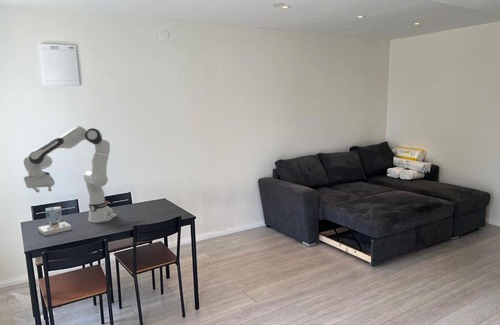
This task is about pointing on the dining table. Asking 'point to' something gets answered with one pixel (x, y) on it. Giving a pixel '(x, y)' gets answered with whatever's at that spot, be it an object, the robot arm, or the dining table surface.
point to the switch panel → (54, 228)
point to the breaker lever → (53, 218)
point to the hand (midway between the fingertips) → (44, 191)
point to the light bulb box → (57, 214)
